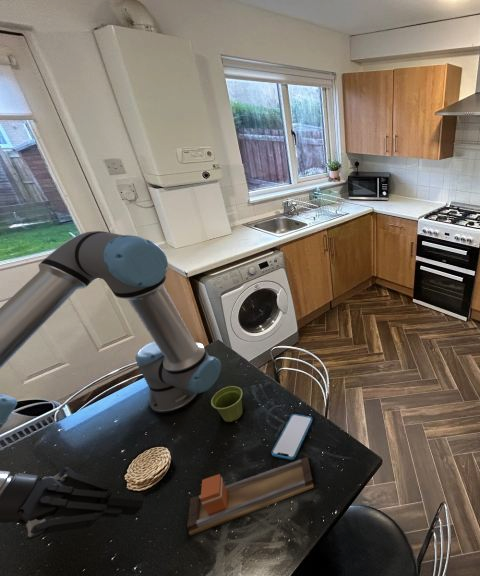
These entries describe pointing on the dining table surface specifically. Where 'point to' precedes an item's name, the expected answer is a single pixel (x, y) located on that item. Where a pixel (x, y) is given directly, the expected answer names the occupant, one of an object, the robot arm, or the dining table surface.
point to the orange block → (214, 494)
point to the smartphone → (292, 437)
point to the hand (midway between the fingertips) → (139, 507)
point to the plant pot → (228, 403)
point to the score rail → (253, 494)
